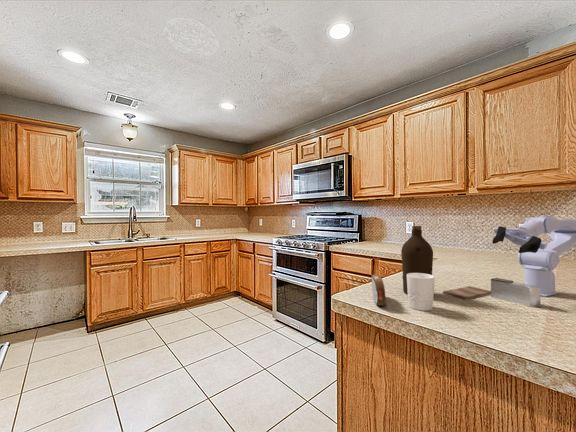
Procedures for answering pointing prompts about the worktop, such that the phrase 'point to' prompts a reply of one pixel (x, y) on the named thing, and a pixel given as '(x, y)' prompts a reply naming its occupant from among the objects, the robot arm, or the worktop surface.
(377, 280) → the tin
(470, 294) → the walnut board
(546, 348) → the worktop surface
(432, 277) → the white cup
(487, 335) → the worktop surface
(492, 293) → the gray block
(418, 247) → the olive oil
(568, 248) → the robot arm
